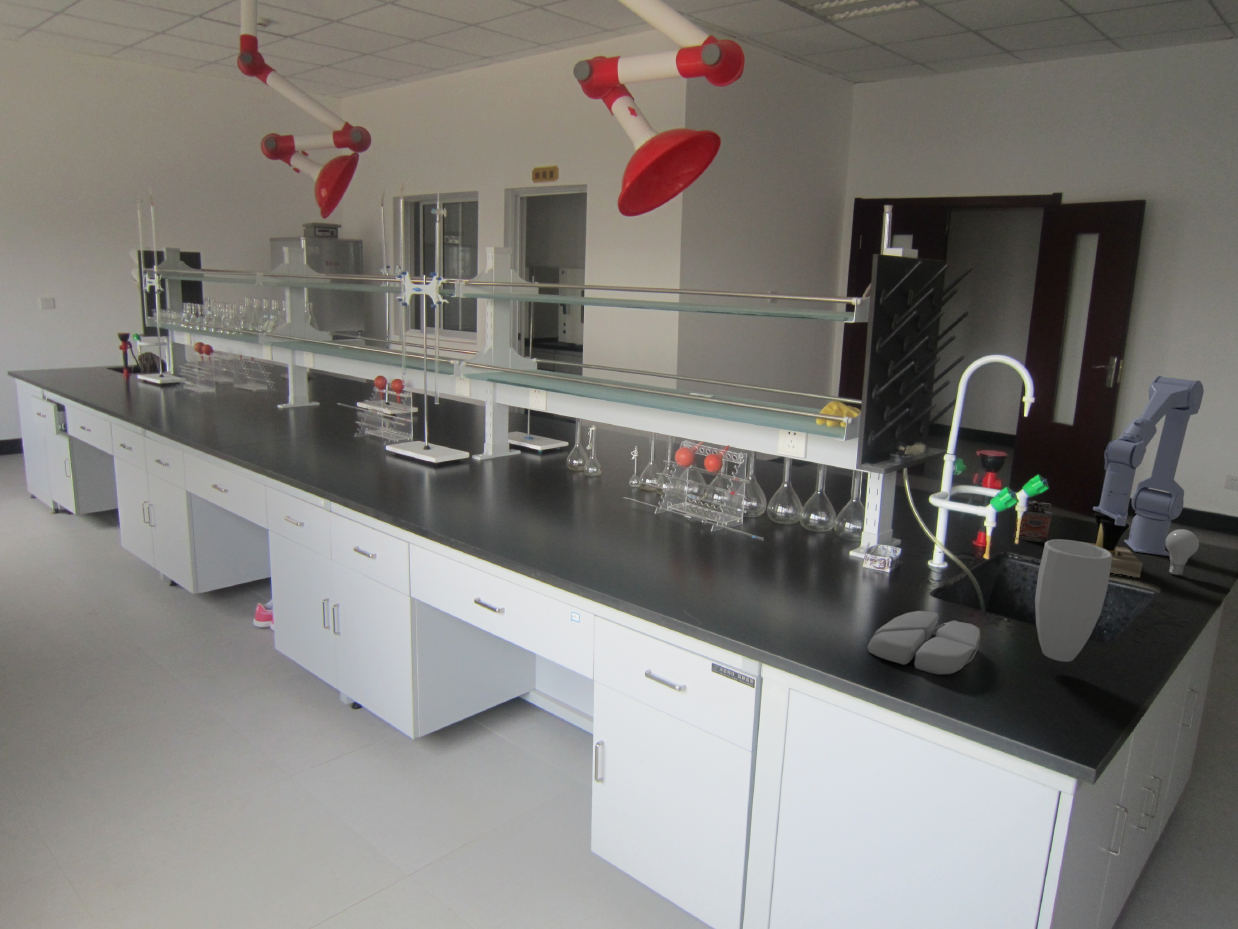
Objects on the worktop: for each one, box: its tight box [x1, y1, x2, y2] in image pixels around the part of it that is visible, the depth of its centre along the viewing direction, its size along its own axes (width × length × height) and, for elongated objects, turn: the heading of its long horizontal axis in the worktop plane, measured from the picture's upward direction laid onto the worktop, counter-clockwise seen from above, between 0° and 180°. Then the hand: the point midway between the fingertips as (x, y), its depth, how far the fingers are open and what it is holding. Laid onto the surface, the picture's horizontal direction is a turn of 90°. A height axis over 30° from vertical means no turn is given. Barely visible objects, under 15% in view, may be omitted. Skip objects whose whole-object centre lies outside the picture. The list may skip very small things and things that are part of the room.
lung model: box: [867, 610, 981, 676], centre depth 144 cm, size 7×17×25 cm
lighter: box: [1013, 500, 1054, 543], centre depth 212 cm, size 8×3×10 cm, turn 76°
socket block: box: [1082, 541, 1144, 579], centre depth 194 cm, size 12×12×4 cm
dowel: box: [1095, 523, 1117, 555], centre depth 194 cm, size 4×4×8 cm
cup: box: [1034, 539, 1112, 663], centre depth 134 cm, size 10×10×22 cm
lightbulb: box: [1165, 528, 1200, 577], centre depth 190 cm, size 6×6×11 cm
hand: (1105, 547), depth 194 cm, fingers closed on dowel, 4 cm apart
